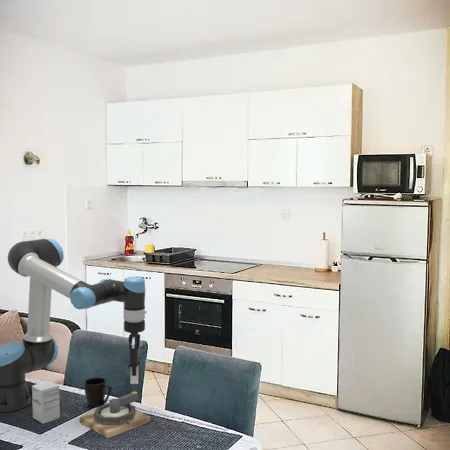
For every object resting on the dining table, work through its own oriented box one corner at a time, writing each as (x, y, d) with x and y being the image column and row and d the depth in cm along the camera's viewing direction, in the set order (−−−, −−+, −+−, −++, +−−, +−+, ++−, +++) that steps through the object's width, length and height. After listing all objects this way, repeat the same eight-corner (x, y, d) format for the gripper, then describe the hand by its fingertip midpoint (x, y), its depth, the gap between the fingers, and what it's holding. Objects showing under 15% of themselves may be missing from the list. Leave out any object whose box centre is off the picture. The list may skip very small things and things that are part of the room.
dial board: (80, 422, 198) (79, 410, 198) (121, 407, 211) (121, 396, 210) (107, 438, 185) (107, 425, 185) (150, 421, 198) (149, 409, 198)
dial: (112, 424, 191) (112, 407, 190) (95, 416, 197) (94, 400, 197) (145, 410, 202) (144, 395, 202) (127, 403, 209) (127, 388, 208)
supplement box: (32, 418, 201) (31, 385, 200) (50, 412, 207) (49, 380, 206) (42, 424, 196) (40, 390, 195) (60, 418, 202) (59, 384, 201)
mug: (103, 412, 206) (102, 388, 205) (80, 406, 212) (79, 382, 212) (118, 405, 213) (117, 381, 212) (95, 399, 219) (95, 376, 219)
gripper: (143, 324, 191) (143, 389, 193) (146, 315, 204) (145, 376, 206) (122, 324, 190) (122, 390, 192) (125, 315, 203) (125, 376, 205)
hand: (134, 383), depth 199 cm, fingers closed
